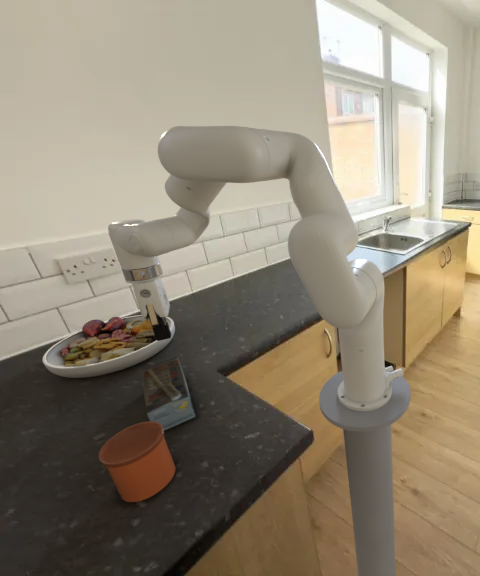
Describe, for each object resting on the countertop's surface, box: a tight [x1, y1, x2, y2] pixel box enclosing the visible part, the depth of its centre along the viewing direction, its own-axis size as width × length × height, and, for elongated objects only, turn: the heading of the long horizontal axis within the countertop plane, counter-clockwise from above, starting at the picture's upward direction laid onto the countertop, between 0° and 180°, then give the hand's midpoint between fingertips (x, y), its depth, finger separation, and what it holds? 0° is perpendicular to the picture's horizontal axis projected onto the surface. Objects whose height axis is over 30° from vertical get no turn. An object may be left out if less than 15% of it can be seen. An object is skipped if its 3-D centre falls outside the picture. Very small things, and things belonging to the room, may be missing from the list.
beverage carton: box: [141, 356, 196, 431], centre depth 72 cm, size 8×19×7 cm, turn 37°
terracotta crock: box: [98, 420, 176, 503], centre depth 54 cm, size 9×9×9 cm
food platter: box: [42, 314, 176, 379], centre depth 93 cm, size 30×30×8 cm
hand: (164, 338), depth 83 cm, fingers closed
